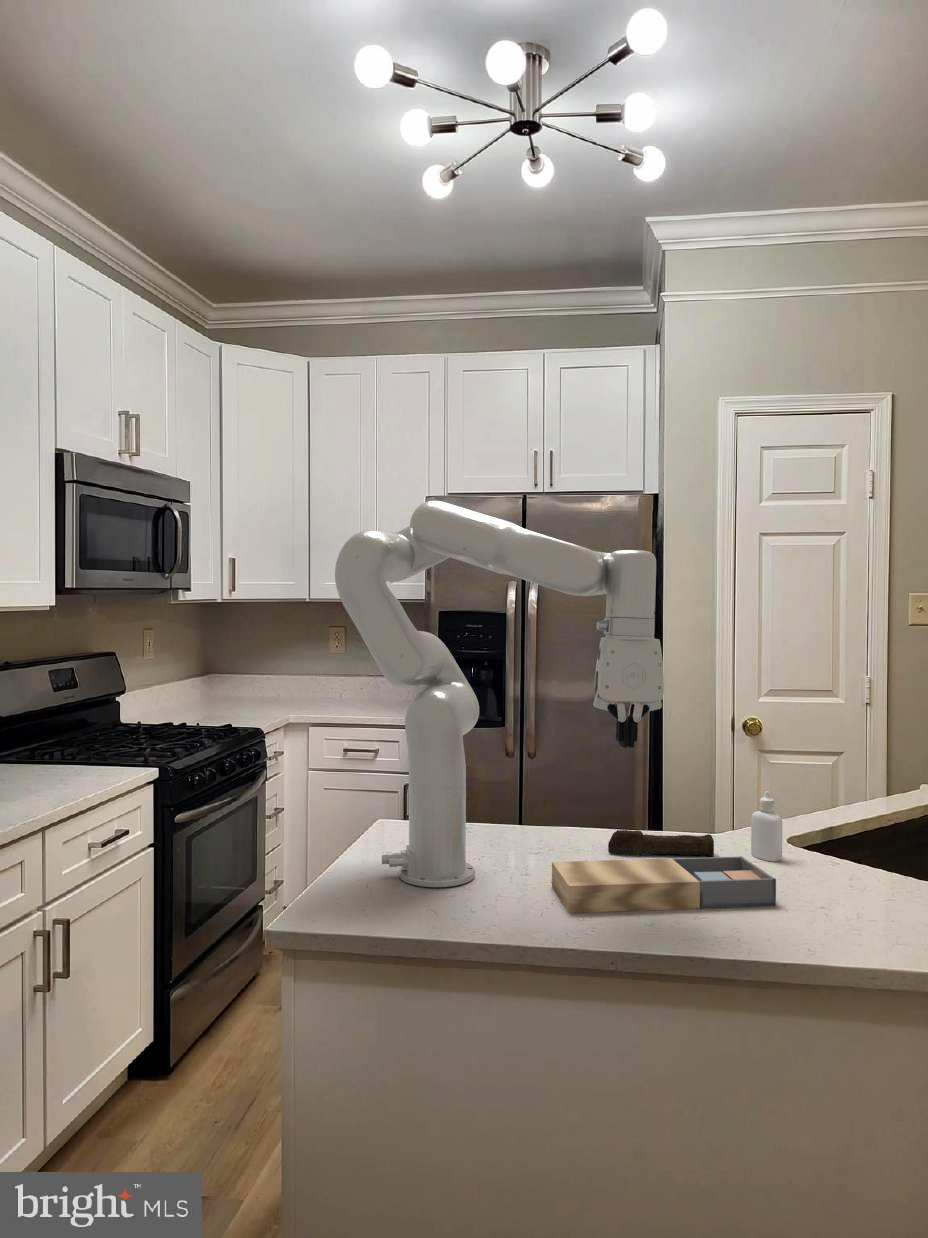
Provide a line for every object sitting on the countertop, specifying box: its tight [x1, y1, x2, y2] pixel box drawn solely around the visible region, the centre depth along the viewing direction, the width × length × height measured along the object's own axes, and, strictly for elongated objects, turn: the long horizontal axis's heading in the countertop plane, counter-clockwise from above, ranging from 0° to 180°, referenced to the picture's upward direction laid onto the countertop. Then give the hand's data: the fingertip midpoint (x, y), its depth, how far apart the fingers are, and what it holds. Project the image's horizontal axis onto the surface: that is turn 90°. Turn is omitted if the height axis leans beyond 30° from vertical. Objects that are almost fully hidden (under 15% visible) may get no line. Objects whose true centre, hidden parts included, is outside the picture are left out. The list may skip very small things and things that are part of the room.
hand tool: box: [607, 829, 715, 857], centre depth 158 cm, size 19×4×5 cm, turn 86°
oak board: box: [551, 858, 701, 914], centre depth 135 cm, size 20×12×4 cm, turn 96°
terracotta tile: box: [723, 870, 761, 880], centre depth 136 cm, size 4×4×2 cm
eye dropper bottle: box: [750, 791, 783, 863], centre depth 156 cm, size 4×6×12 cm
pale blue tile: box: [694, 872, 731, 881], centre depth 136 cm, size 4×4×2 cm
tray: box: [672, 856, 777, 909], centre depth 136 cm, size 12×12×4 cm
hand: (626, 746), depth 135 cm, fingers closed
